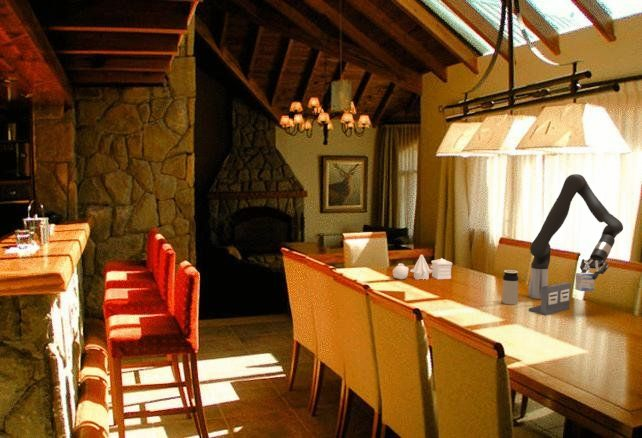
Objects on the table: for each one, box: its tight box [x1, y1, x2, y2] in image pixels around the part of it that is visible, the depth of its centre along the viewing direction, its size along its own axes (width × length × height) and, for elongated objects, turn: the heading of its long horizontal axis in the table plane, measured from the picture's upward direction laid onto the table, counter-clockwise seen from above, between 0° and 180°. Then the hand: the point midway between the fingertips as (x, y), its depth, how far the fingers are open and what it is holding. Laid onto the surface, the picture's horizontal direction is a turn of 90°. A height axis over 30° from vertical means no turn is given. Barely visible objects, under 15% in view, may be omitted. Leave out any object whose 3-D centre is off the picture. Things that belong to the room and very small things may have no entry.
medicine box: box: [574, 272, 595, 292], centre depth 302 cm, size 8×4×9 cm, turn 106°
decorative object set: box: [392, 254, 453, 281], centre depth 398 cm, size 40×18×16 cm, turn 102°
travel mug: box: [501, 269, 519, 306], centre depth 326 cm, size 8×8×18 cm
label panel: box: [528, 281, 572, 316], centre depth 311 cm, size 10×22×14 cm, turn 127°
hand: (587, 277), depth 302 cm, fingers closed on medicine box, 5 cm apart
